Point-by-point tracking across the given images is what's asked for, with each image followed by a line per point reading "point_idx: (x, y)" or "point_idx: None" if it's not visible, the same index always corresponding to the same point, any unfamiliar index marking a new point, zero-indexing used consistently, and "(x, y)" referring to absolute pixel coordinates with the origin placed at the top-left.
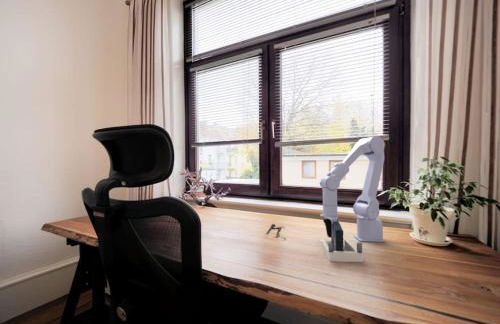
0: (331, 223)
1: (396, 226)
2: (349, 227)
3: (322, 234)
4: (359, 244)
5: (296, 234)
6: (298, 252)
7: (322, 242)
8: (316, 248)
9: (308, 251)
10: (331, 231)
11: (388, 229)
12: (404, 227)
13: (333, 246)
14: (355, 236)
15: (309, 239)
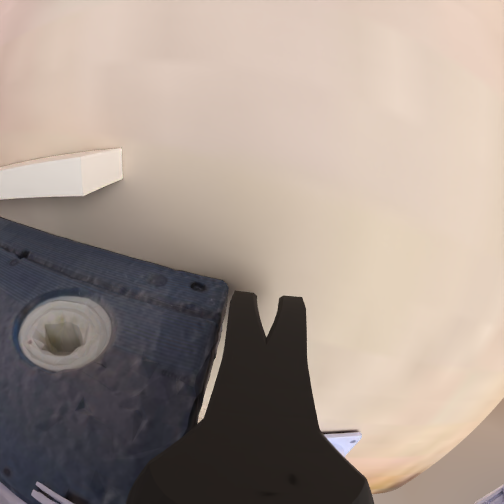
0: (104, 474)
1: (400, 484)
2: (475, 416)
3: (474, 274)
4: None
5: (491, 31)
6: (27, 8)
7: (14, 167)
8: (64, 105)
9: (27, 56)
10: (135, 365)
11: (386, 480)
12: (383, 491)
13: (28, 245)
14: (332, 437)
15: (350, 68)
